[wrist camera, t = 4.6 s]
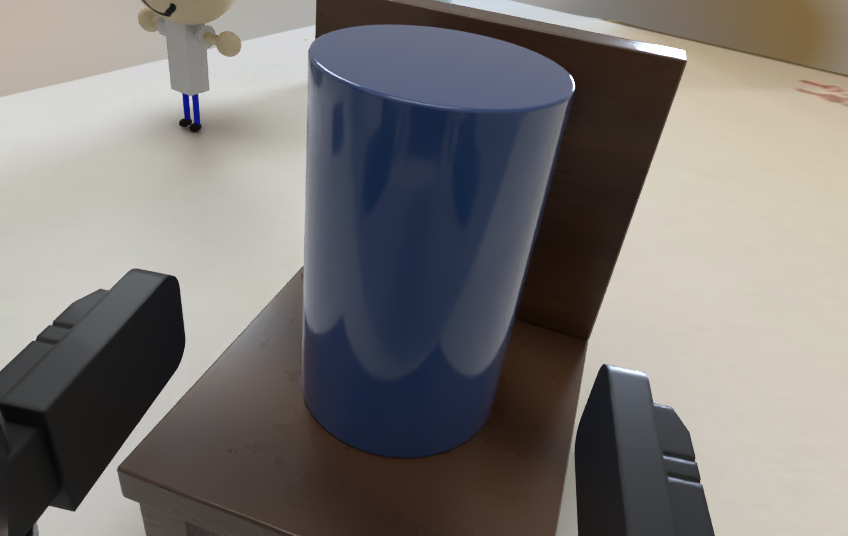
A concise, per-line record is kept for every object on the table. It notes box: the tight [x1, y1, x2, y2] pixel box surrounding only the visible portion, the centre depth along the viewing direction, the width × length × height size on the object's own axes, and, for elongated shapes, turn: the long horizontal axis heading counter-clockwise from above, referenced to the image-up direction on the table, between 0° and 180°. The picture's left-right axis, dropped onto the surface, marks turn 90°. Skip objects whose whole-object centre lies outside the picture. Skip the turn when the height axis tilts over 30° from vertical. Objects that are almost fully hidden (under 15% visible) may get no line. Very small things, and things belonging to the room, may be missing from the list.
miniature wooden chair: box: [117, 0, 687, 536], centre depth 19 cm, size 12×11×15 cm
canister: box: [301, 25, 575, 458], centre depth 17 cm, size 6×6×10 cm
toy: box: [138, 0, 241, 132], centre depth 42 cm, size 9×7×15 cm
